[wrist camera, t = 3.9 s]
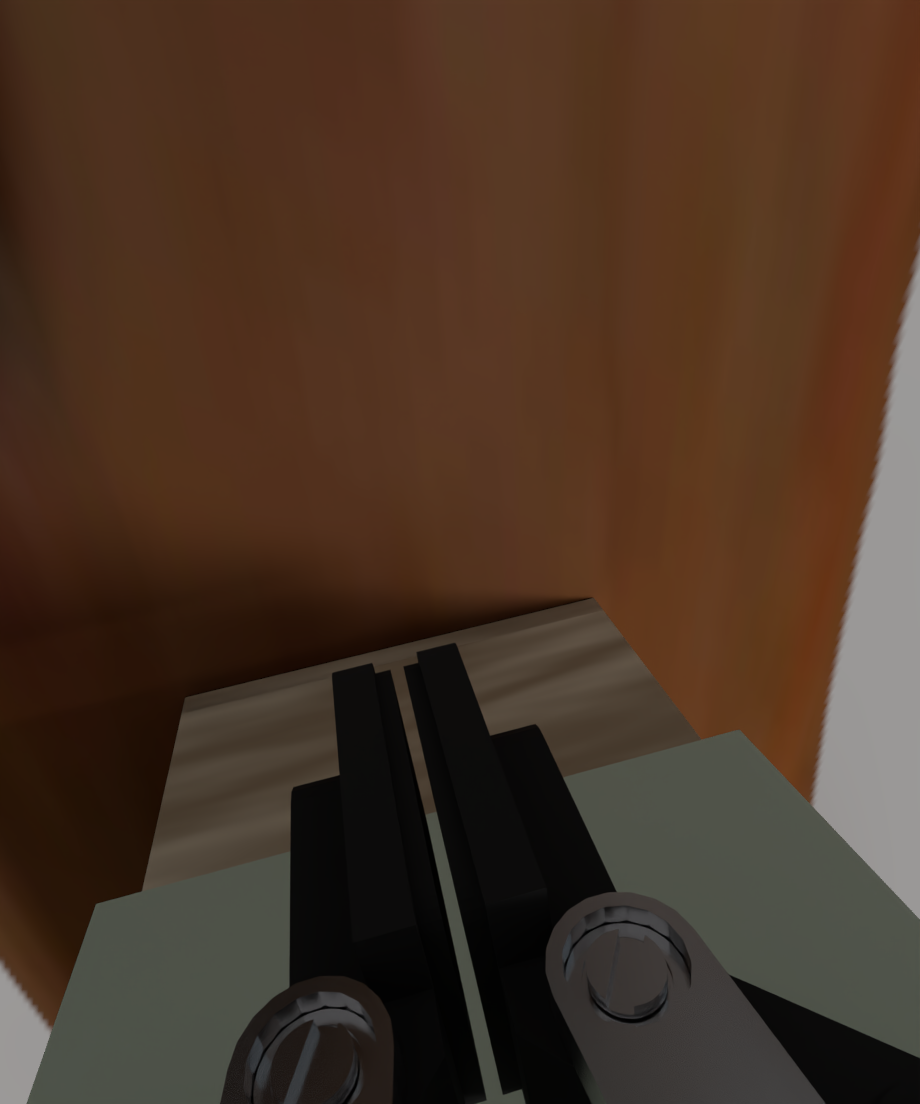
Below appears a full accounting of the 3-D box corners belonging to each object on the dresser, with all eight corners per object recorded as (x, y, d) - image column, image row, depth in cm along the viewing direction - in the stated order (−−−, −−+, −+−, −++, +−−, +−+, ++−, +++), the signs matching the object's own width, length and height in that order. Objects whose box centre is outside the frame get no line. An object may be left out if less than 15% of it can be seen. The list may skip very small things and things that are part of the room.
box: (184, 697, 27) (132, 934, 18) (593, 598, 29) (724, 769, 20) (304, 993, 35) (308, 1257, 27) (619, 901, 37) (720, 1119, 28)
